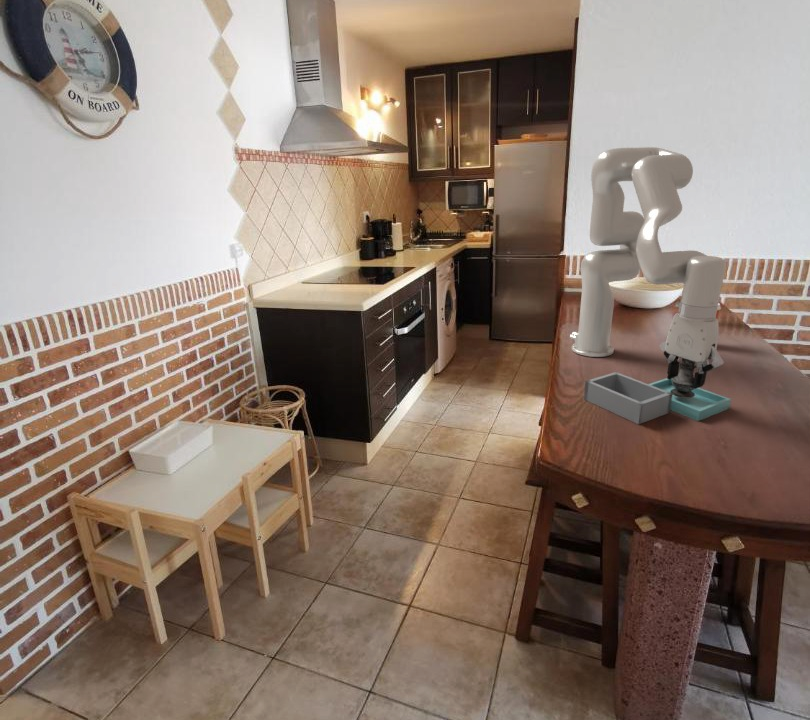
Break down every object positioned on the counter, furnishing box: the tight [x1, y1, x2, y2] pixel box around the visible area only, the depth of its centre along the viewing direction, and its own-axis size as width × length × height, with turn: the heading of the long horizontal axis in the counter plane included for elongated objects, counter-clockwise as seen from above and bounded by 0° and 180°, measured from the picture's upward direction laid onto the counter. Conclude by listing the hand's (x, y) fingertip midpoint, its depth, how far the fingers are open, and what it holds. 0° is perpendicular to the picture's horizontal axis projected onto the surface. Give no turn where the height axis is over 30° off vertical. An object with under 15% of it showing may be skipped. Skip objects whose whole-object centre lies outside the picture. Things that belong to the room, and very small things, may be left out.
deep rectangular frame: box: [583, 371, 673, 425], centre depth 121 cm, size 16×11×5 cm
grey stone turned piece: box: [670, 358, 697, 398], centre depth 120 cm, size 6×6×12 cm
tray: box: [648, 377, 732, 422], centre depth 122 cm, size 16×12×2 cm
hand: (684, 381), depth 121 cm, fingers closed on grey stone turned piece, 5 cm apart
